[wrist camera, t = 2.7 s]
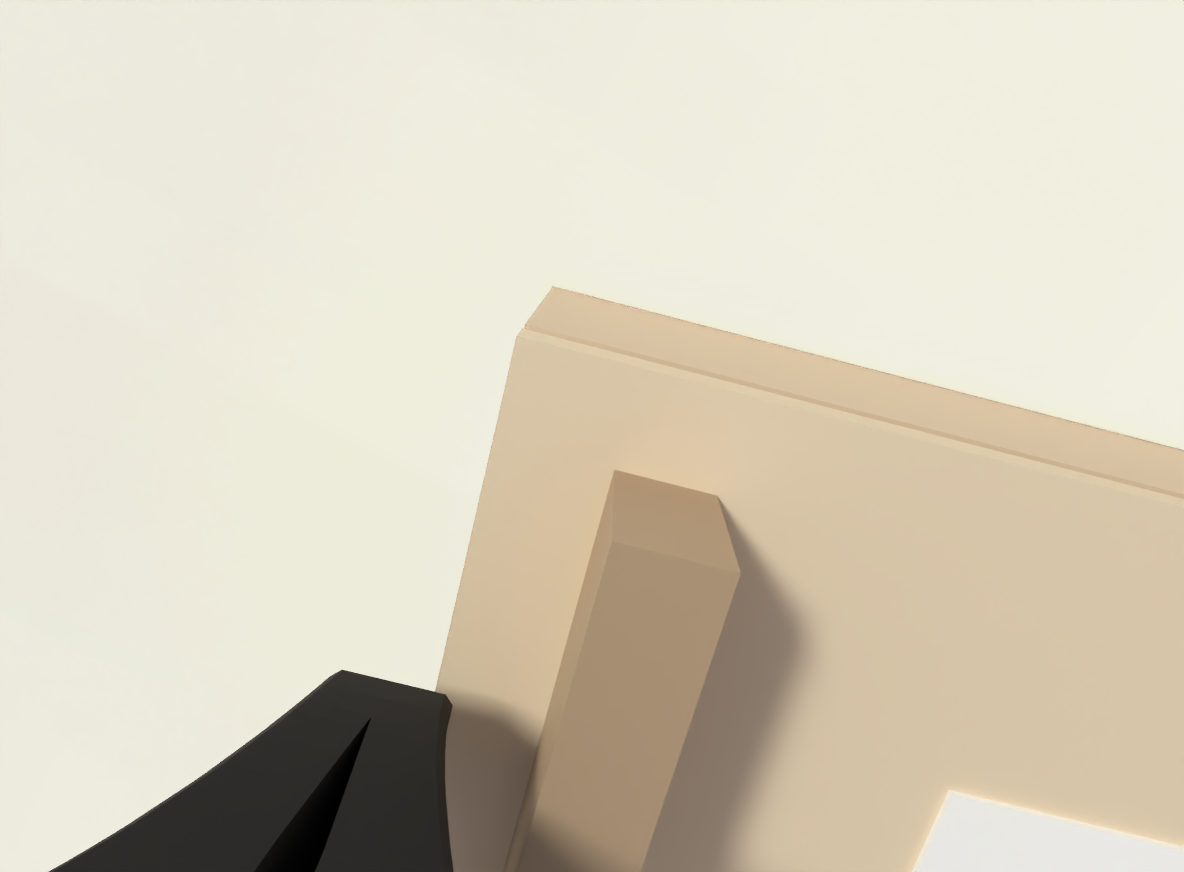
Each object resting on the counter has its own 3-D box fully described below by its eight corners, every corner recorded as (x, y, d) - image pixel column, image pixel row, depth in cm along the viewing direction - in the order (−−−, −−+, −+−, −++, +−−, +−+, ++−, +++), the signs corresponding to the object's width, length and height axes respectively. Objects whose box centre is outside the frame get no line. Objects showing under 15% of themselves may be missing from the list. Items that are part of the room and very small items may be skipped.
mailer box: (434, 783, 16) (376, 964, 13) (553, 286, 14) (525, 324, 10) (1109, 944, 17) (1250, 1164, 13) (1358, 495, 14) (1631, 610, 10)
